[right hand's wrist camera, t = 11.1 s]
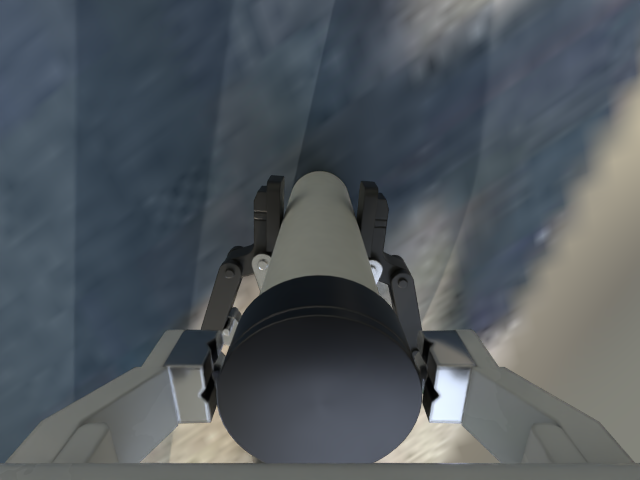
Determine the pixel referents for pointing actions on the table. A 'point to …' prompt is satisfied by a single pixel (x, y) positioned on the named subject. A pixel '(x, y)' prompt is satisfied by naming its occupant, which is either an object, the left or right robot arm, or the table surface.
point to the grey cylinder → (319, 235)
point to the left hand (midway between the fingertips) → (322, 182)
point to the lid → (319, 375)
